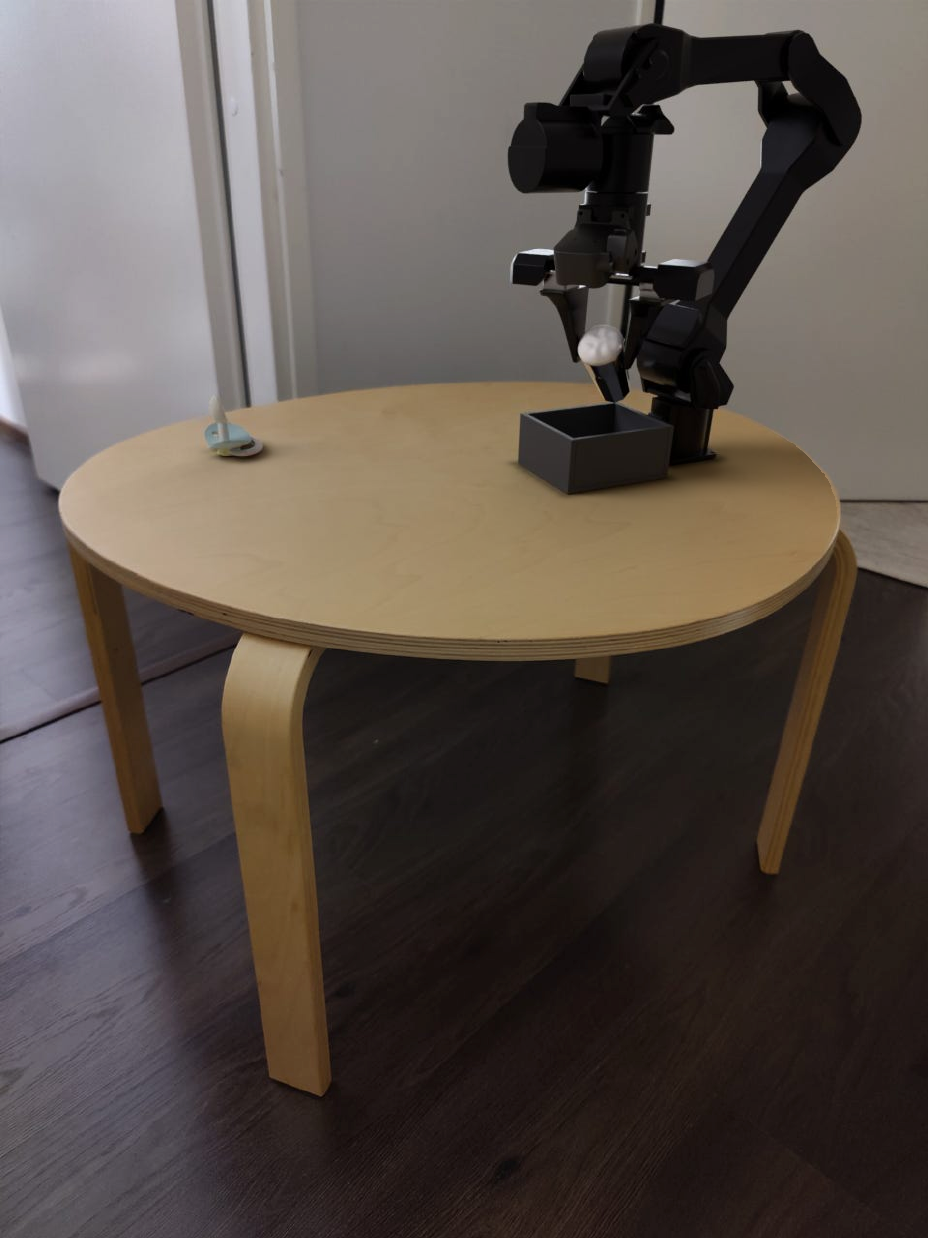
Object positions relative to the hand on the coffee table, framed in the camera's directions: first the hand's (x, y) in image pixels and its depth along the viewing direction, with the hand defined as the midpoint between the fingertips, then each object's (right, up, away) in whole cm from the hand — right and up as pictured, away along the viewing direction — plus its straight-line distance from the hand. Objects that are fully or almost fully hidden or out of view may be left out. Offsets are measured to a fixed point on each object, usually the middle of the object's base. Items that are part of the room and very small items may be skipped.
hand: (601, 365), depth 86 cm
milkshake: (+3, -1, +6) cm, 7 cm away
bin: (0, -10, +5) cm, 11 cm away
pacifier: (-39, -7, +9) cm, 41 cm away
